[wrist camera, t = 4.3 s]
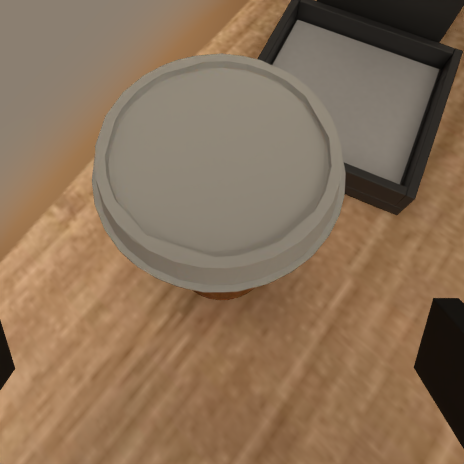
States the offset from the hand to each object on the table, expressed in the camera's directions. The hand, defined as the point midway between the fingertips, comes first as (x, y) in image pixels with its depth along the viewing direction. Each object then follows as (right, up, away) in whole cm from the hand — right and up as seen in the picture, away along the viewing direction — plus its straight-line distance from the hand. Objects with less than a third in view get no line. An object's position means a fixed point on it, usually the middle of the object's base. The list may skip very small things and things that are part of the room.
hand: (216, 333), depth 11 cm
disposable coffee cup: (0, +2, +13) cm, 13 cm away
